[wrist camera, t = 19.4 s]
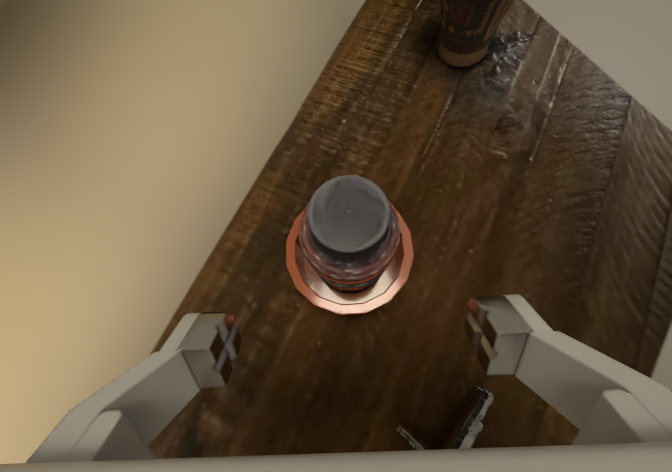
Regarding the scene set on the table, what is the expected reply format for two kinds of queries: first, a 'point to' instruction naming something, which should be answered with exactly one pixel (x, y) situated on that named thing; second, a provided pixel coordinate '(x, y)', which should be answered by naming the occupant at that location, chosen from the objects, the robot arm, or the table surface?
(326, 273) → the supplement bottle
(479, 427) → the l-shaped bracket
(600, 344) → the table surface
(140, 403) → the robot arm
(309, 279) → the holder
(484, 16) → the cup
